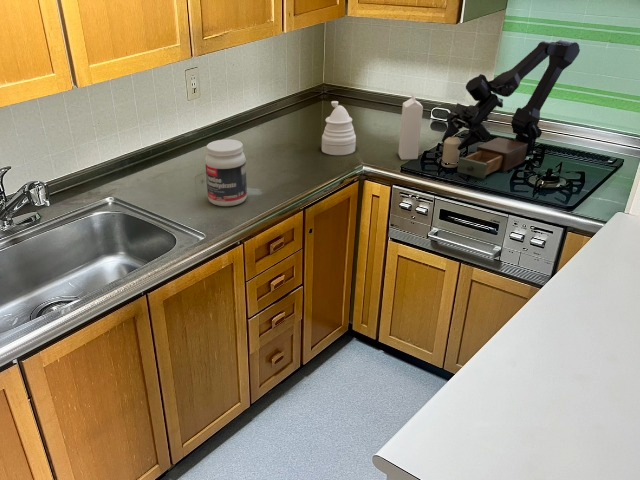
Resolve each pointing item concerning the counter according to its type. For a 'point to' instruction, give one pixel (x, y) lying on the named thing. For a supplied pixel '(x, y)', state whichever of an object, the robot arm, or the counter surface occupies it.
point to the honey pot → (338, 132)
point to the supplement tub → (226, 172)
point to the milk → (410, 129)
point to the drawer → (480, 163)
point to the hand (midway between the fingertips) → (450, 145)
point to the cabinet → (506, 151)
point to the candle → (451, 151)
